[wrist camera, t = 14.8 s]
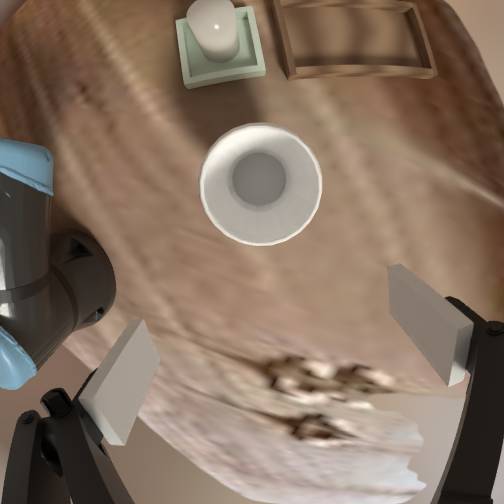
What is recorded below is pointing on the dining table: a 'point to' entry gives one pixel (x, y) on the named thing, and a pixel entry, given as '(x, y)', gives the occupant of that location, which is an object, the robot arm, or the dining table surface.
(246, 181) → the cup
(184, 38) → the dish
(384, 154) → the dining table surface
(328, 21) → the tray
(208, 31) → the white rounded cylinder
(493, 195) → the dining table surface
